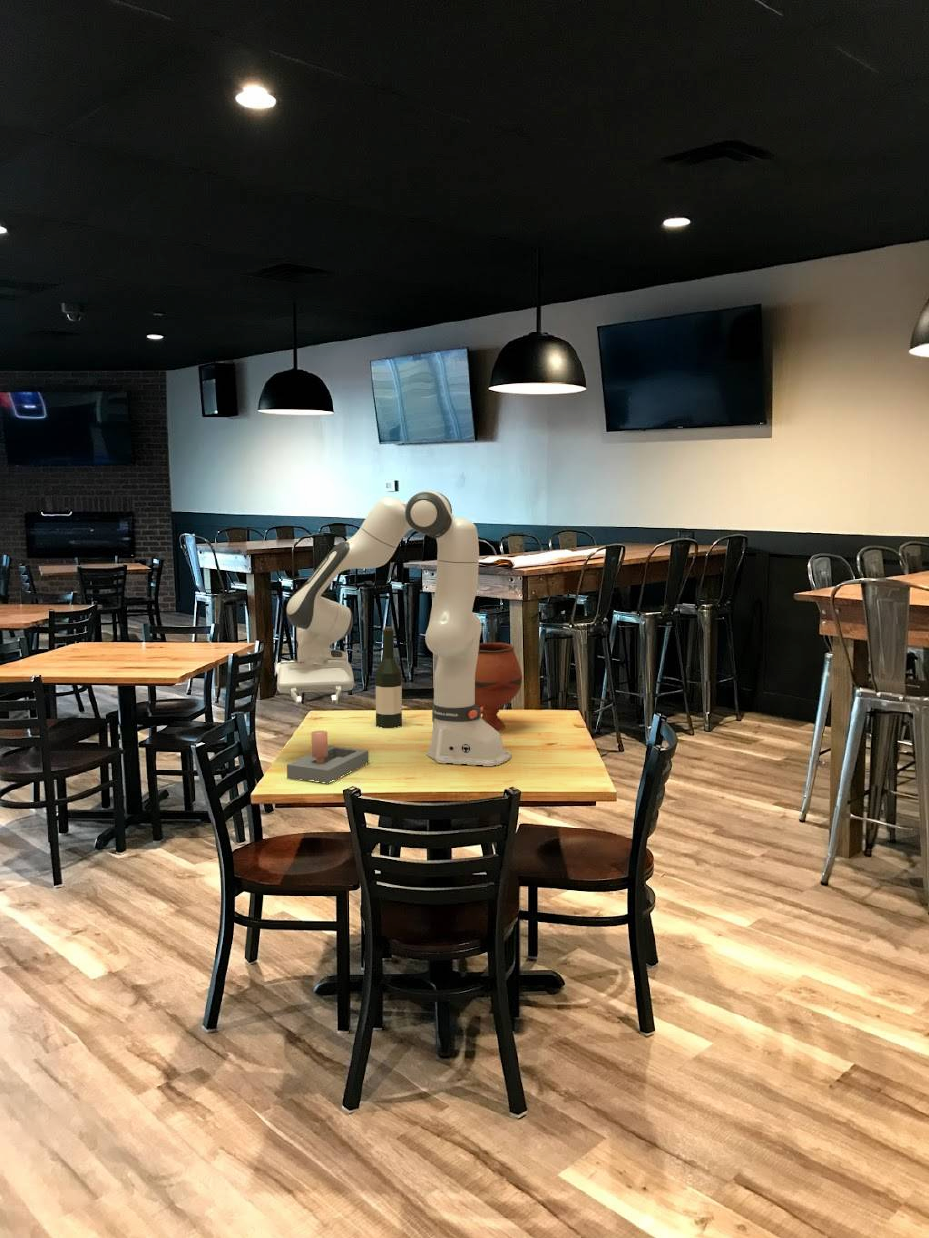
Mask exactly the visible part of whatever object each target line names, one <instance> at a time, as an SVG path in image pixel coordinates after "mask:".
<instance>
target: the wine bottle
mask: <svg viewBox="0 0 929 1238" xmlns="http://www.w3.org/2000/svg"><path fill="white" fill-rule="evenodd" d="M394 632H395V631H394V629H393V627H392V626H384V627H383V630H382V659H381V660H380V663H379V664H378V666H377V668H376V670H375V673H374V674H375V727H377V726H379V727H378V728H380V727H382V728H381V729H395V728H394V727H396V728H399V727H398V726H401V727H402V726H403V702H402V701H403V697H402V696H403V695H402V693H403V691H402V689H403V685H402V684H403V683H402V681H403V680H402V677H403V676H402V674H403V673H402V672H403V671H402V668H401V667H400V665H399V664H398V661H397V660H396V658H395V651H394V650H395V646H394V636H395V634H394Z"/></svg>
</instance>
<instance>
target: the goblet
mask: <svg viewBox="0 0 929 1238" xmlns="http://www.w3.org/2000/svg"><path fill="white" fill-rule="evenodd" d="M514 649H515V647H514V646H513V645H512V644H510V643H506V642H479V650H478V658H477V664H476V671H475V703H476V705H477V706H478V707H479V708H481V707H483V709H482V710H483V711H481V718H482V719H483V720H484V721H485V722H487V723H488V724H489V725H490V726H491V727H493V728H494V729H495V730H496V731H499V730H500V731H501V730H503V729H505V727H506V725H505V723H504V721H503V720H502V719H501V718H500V717H499V716H498V713H499V712H500V708H502V707H504V706H505V705H507V704H508V703H509V702H511V701H512V700H513V699H514V698H515V697H516V696H517V695H518V693H519V692H520V690H521V687H522V683H523V675H522V669H521V665H520V662H519V660H518V658H517V656H516V653H515V650H514Z"/></svg>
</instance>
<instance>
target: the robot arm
mask: <svg viewBox="0 0 929 1238" xmlns="http://www.w3.org/2000/svg"><path fill="white" fill-rule="evenodd" d="M452 507H453V506H452V505H451V502H450V500H449V499H448V497H446V496H445V495H444V494H443V493H442V492H441V493H440V492H437V491H434V490H424V491H421V492H418V493H415V494H414V495H413V496H412V497H410V498H409V500H407V502H405V501H402V500H400V499H398V498H396V497H391V496H389V497H386V496H385V497H383V498H381V499H380V500H379V501H378V502H376V504H375V505H374V507H373V508H372V509H371V511H370V512H369V513H368V515H367V516H366V517H365V519H364V521H363V523H362V524H361V525H360V527H359V529H358V530H357V531H356V533H355V534H353V536H351V537H350V538H349V539H348V540H346V541H341V542H339V543H337V544H336V545H335V546H334V547H333V548H332V549H331V550H330V551H329V553H328V554H327V555H326V556H325V557H324V558H323V560H322V561H321V563H319V565H318V566H317V567H316V569H315V570H314V571H313V573H312V574H311V575H310V576H309V578H308V579H307V580H306V582H304V584H303V585H302V586H301V587H300V588H299V589H298V590H297V591H296V592H295V593H294V594H293V595H291V597H290V598H289V599H288V601H287V604H286V607H285V611H286V612H285V613H286V616H287V619H288V621H289V623H290V624H291V625H292V626H293V627H295V628H296V642H297V644H298V647H297V651H296V653H297V660H281V661H280V662H278V663H277V664H275V668H274V669H275V670H274V671H275V674H276V675H277V679H276V680H277V681H276V688H277V689H276V690H277V691H278V692H279V693H280V694H290V696H291V698H293V700H294V701H295V706H302V696H298V695H297V693H313V692H314V693H317V692H335V694H333V695H331V704H332V705H338V703H339V702H338V700H339V697H340V696H341V694H342V691H345V692H346V691H351V690H352V689H353V688H354V687H355V686H354V685H355V679H354V677H355V676H354V673H353V669H352V668H353V667H352V665H351V663H350V662H349V661H348V654H347V652H345V651H343V650H339V649H334V648H331V644H335V643H338V642H339V641H340V640H342V639H344V638H345V637H347V636H348V635H349V634H350V633H351V632H352V628H353V623H354V622H353V621H354V620H353V619H354V618H353V612H352V611H351V609H350V608H349V607H348V606H346V605H344V604H341V603H339V602H337V601H334V600H331V599H328V598H325V597H323V596H322V595H323V593H324V592H325V590H327V588H329V587H330V585H331V583H332V582H333V581H334V579H335V578H336V577H337V576H338V575H339V574H340V573H342V572H344V571H348V570H355V569H362V570H363V569H365V570H370V569H377V568H380V567H382V566H384V565H386V564H387V563H388V562H389V561H390V559H391V558H392V557H393V555H394V554H395V552H396V551H397V548H398V546H399V544H400V543H401V541H402V539H403V538H404V536H405V535H406V534H407V533H408V532H409V531H410V530H413V531H416V532H417V533H419V534H422V535H425V536H428V537H431V538H432V539H435V540H436V544H437V561H436V573H435V574H436V575H435V577H436V578H435V589H434V590H435V591H434V596H433V602H432V605H431V610H430V615H429V622H428V626H427V629H426V631H425V637H424V639H425V640H424V641H425V644H426V646H427V649H429V651H430V652H432V654H433V655H436V656H437V663H436V667H435V670H434V674H433V703H432V706H431V707H432V709H431V717H432V725H433V726H432V734H431V741H430V744H429V745H430V746H429V750H428V753H427V755H428V757H430V758H431V759H433V760H435V762H436V763H437V764H446V763H453V764H452V765H461V764H467V765H466V766H476V765H483V766H482V767H495V766H494V765H496V766H499V765H502V764H503V762H504V763H505V761H506V762H507V761H508V760H510V759H511V758H512V753H511V751H510V750H508V749H504V747H503V738H502V735H501V734H500V732H499V730H495V729H494V728H493V727H491V726H490V725H489V724H488V723H487V722H485V721H484V720H483V719H482V718H481V717H482V713H481V711H483V710H482V709H483V707H481V708H479V707H478V706H477V705H476V703H475V671H476V664H477V658H478V650H479V643H480V640H481V634H482V630H483V628H482V627H483V626H482V622H481V619H480V618H479V617H478V615H477V614H475V613H474V612H473V608H474V604H475V603H474V602H475V598H476V596H477V593H478V581H479V567H480V563H479V562H480V546H479V535H478V529H477V528H478V527H477V526H476V524H474V523H473V522H472V521H471V520H468V519H466V518H463V517H460V518H459V517H456V516H454V514H453V509H452ZM501 763H502V764H501Z"/></svg>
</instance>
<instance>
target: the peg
mask: <svg viewBox="0 0 929 1238" xmlns="http://www.w3.org/2000/svg"><path fill="white" fill-rule="evenodd" d="M310 735H311V754H312V757H314V758H316V763H321V764H324V757H327V756H328V746H329V745H328V738H329V737H328V731H326V730H316V731H311V733H310Z"/></svg>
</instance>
